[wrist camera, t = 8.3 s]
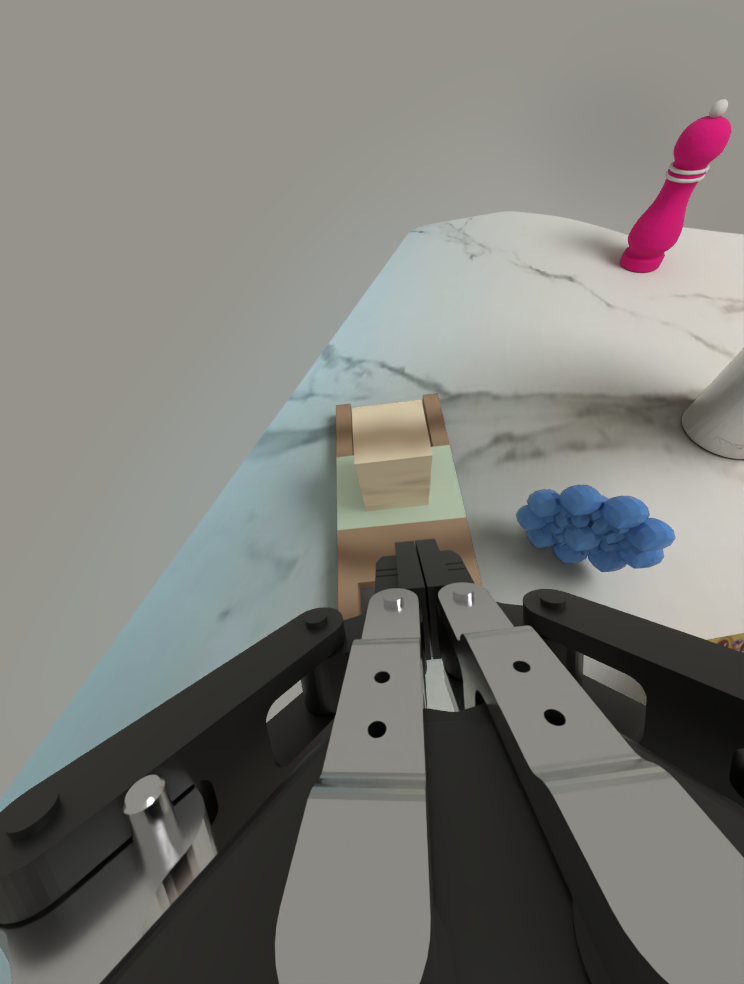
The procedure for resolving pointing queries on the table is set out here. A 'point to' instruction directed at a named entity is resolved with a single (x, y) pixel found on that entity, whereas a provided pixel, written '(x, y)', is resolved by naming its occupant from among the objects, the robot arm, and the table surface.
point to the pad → (441, 506)
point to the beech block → (392, 455)
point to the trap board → (391, 526)
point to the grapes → (595, 528)
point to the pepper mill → (676, 191)
